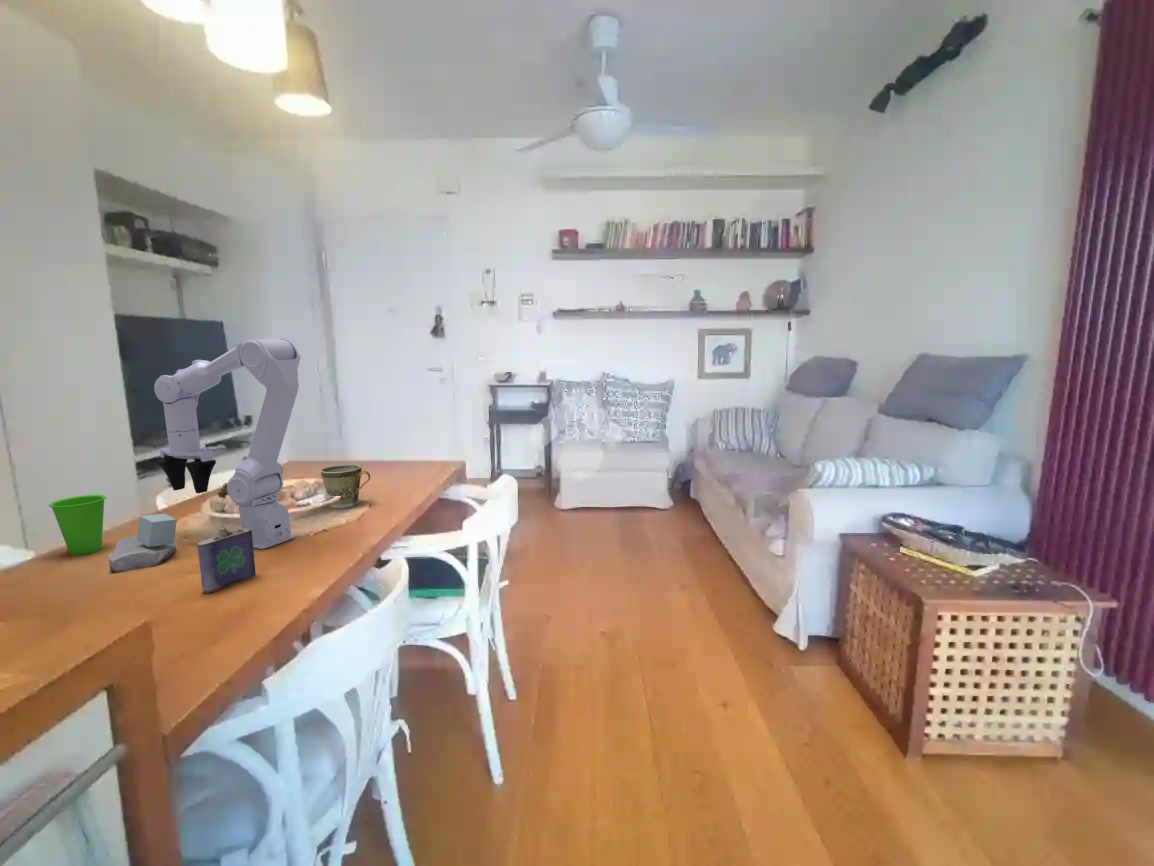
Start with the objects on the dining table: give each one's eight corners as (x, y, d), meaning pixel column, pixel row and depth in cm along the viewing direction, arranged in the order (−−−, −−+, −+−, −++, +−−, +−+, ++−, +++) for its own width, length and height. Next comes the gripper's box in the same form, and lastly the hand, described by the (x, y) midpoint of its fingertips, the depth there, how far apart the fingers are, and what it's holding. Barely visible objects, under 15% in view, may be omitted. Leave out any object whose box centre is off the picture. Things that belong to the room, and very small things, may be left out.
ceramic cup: (315, 510, 149) (312, 472, 147) (337, 499, 158) (334, 463, 157) (362, 511, 146) (359, 473, 145) (381, 501, 156) (379, 464, 155)
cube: (173, 543, 117) (176, 519, 116) (148, 546, 113) (152, 522, 112) (161, 537, 119) (164, 513, 118) (136, 540, 115) (139, 516, 114)
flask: (207, 595, 99) (200, 534, 97) (198, 591, 100) (190, 532, 98) (259, 575, 107) (253, 519, 105) (249, 573, 108) (243, 517, 106)
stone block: (177, 555, 124) (118, 554, 119) (179, 533, 123) (120, 532, 118) (169, 576, 113) (104, 577, 108) (172, 552, 113) (107, 552, 108)
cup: (110, 540, 128) (103, 492, 126) (115, 550, 121) (108, 499, 119) (56, 551, 121) (47, 500, 120) (58, 562, 115) (50, 509, 113)
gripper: (222, 429, 127) (229, 489, 129) (179, 426, 132) (186, 483, 134) (190, 434, 120) (198, 497, 122) (147, 430, 126) (155, 491, 128)
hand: (190, 490), depth 128 cm, fingers open, 7 cm apart
